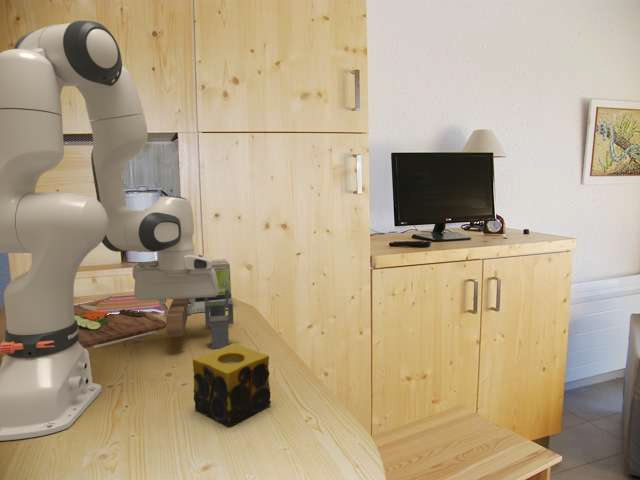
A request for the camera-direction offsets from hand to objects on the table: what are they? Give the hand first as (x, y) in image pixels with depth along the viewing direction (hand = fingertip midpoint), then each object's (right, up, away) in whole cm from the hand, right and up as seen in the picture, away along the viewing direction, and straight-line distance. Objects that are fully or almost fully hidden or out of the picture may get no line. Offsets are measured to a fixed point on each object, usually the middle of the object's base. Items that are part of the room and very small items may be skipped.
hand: (178, 315), depth 122 cm
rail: (0, -2, 0) cm, 2 cm away
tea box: (0, -3, +31) cm, 31 cm away
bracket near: (+11, -7, -2) cm, 13 cm away
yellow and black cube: (+20, -12, -34) cm, 41 cm away
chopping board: (-29, -5, +18) cm, 35 cm away
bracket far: (+8, -5, +11) cm, 15 cm away
